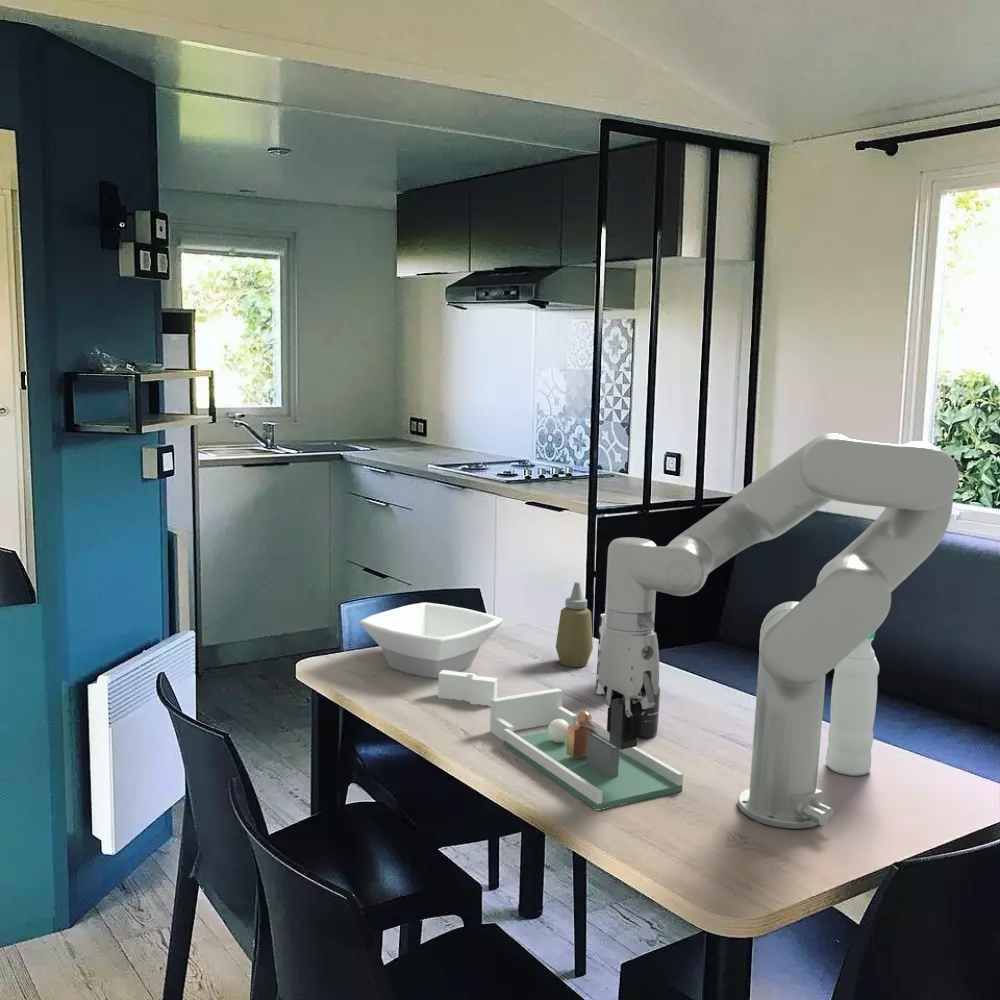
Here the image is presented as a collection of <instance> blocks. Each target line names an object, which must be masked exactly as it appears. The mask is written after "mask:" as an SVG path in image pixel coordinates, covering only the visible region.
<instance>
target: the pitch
mask: <svg viewBox="0 0 1000 1000" xmlns="http://www.w3.org/2000/svg"><path fill="white" fill-rule="evenodd" d="M562 705H563V690H561V689H560V688H557V687H556V688H550V689H545V690H539V691H538V690H537V691H533V692H526V693H520V694H514V695H513V694H512V695H507V696H501V697H497V698H493V699H491V706H490V713H489V715H490V717H489V718H490V719H489V720H490V721H489V722H490V723H489V724H490V725H489V732H490V733H492V734H493V735H494V736H496V737H497V738H499V739H500V740H501V741H503V743H502V744H503V745H502V746H504V747H505V748H507V749H508V750H509V751H511V752H513V753H514V754H515V755H517V756H518V757H520V758H521V759H522V760H524V761H525V762H527V763H529V764H530V765H531V766H533V768H535V769H536V770H538V771H540V772H541V773H542V774H544V775H545V776H547V777H548V778H550V779H551V780H552V781H554V782H555V783H557V784H559V785H560V786H561V787H562V788H564V789H566V790H567V791H569V792H570V793H571V794H572V795H574V796H575V795H576V796H575V797H577V798H578V797H579V798H578V799H580V800H581V799H582V800H581V801H583V802H584V801H585V802H586V803H585V802H584V803H585V804H587V803H588V804H589V805H588V804H587V805H588V806H590V805H591V806H592V807H591V806H590V807H591V808H593V807H594V808H595V809H597V810H598V809H602V810H604V809H603V808H607V807H611V808H613V807H612V806H615V807H618V806H617V805H620V806H622V805H621V804H624V805H626V804H625V803H628V804H632V803H631V802H633V803H636V802H635V801H637V802H641V801H644V799H645V800H649V798H650V799H654V798H658V797H662V796H663V797H664V796H666V795H671V794H675V793H680V792H682V791H683V785H684V784H683V781H684V773H683V772H681V771H679V770H678V769H676V768H674V767H672V766H670V765H668V764H667V763H665V762H663V761H662V760H660V759H658V758H656V757H654V756H652V755H651V754H649V753H648V752H646V751H644V750H642V749H640V748H639V747H638V746H637V747H632V748H627V749H623V750H620V749H619V748H617V747H615V746H614V745H612V744H610V743H609V742H607V741H605V740H604V739H602V738H600V737H599V736H597V735H595V734H589V735H588V737H587V756H582V757H577V758H572V757H570V756H569V755H567V754H566V752H567V740H566V741H565V742H563V743H556V742H554V741H552V740H551V739H550V738H549V736H548V732H547V731H542V732H538V733H532V734H527V735H526V734H525V735H521V736H519V735H518V734H517V733H515V732H516V731H520V730H525V729H531V728H537V727H542V726H547V725H548V726H549V724H550V723H551V722H552V721H553V720H555V719H563V720H565V721H566V722H567V723H568V724H569V725H576V724H579V723H578V722H577V715H578V714H575V713H574V712H572V711H570V710H568V709H567V708H565V707H563V706H562ZM514 731H515V732H514ZM657 796H658V797H657ZM640 800H641V801H640ZM594 808H593V809H594ZM595 809H594V810H595ZM607 809H608V808H607ZM597 810H596V811H597ZM598 811H599V810H598Z"/></svg>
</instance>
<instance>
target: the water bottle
mask: <svg viewBox="0 0 1000 1000" xmlns="http://www.w3.org/2000/svg"><path fill="white" fill-rule="evenodd" d="M875 635H876V631H875V632H874V633H873V634H872V635H871V636H870V637H868V638H867V639H866V640H865V641H864V642H863V643H862V644H860V645H859V646H858V647H857V648H856V649H855V650H854V651H852V652H851V653H850V654H849V655H848V656H847V657H846V658H844V659H843V660H842V661H841V662H840V663H839V664H837V665H836V666H835V667H834V668H833V669H834V673H833V678H832V685H831V693H830V694H831V698H830V711H829V712H830V714H829V715H830V718H829V719H830V724H829V727H828V733H827V740H828V741H827V742H828V743H827V748H826V755H825V763H826V766H827V767H828V768H829V769H830V770H832V771H833V772H835V773H838V774H840V775H844V776H853V777H858V776H864V775H866V774H868V773H869V772H870V770H871V767H872V747H873V743H874V730H873V729H874V724H875V718H876V709H877V700H878V698H877V697H878V675H879V674H880V664H879V661H878V659H877V657H876V654H875V650H874V649H873V647H872V642H873V640H874V638H875V637H876V636H875Z"/></svg>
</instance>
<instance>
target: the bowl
mask: <svg viewBox="0 0 1000 1000" xmlns="http://www.w3.org/2000/svg"><path fill="white" fill-rule="evenodd" d="M503 622H504V620H503V618H501V617H499V616H498V617H497V616H496V615H492V614H489V613H485V612H481V611H478V610H474V609H469V608H464V607H460V606H459V607H458V606H454V605H448V604H440V603H433V602H419V603H412V604H408V605H403V606H400V607H397V608H396V607H395V608H393V609H389V610H385V611H382V612H378V613H375V614H371V615H370V616H368V617H365V618H363V619H361V620H360V621H359V625H360V626H361V627H362V628H363V629H364V630H365V632H366V633H367V634H369V636H370V637H371V638H372V639H373V640H374V641H375V643H377V645H378V646H379V647H380V648H381V649H382V652H383V654H384V656H385V658H386V661H387V663H388V666H389V667H390V668H392V669H394V670H397V671H399V672H402V673H406V674H409V675H413V676H418V677H421V678H422V677H423V678H426V679H427V678H428V679H434V680H435V679H439V673H440V672H441V671H442V670H448V671H457V672H463V671H464V670H467V669H468V668H469V667H470V666H472V665H473V662H474V661H475V658H476V656H477V654H478V652H479V650H480V648H481V646H483V645H484V643H485V642H487V640H488V639H490V637H491V635H492V634H493V633H494V632H495V631H496V630H497V629H498V628H499V626H500V625H501V624H503Z"/></svg>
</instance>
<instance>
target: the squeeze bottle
mask: <svg viewBox="0 0 1000 1000" xmlns="http://www.w3.org/2000/svg"><path fill="white" fill-rule="evenodd" d="M581 587H582V586H581V583H580V582H578V581H575V582H574V583H573V587H572V591H571V595H570V597H566V598H565V603H564V604H565V607H563V608H562V609H561V610H560V615H559V622H558V628H557V635H556V642H555V650H556V653H557V655H558V661H559V663H560V664H561V665H563V666H565V667H572V668H580V667H585V666H588V665H587V664H588V662H589V660H590V657H591V654H592V651H593V649H594V642H593V626H592V624H593V623H592V622H593V621H592V611H591V610H590V609H589V608H588V599H587V598H584V597H583V593H582V588H581Z"/></svg>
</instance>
